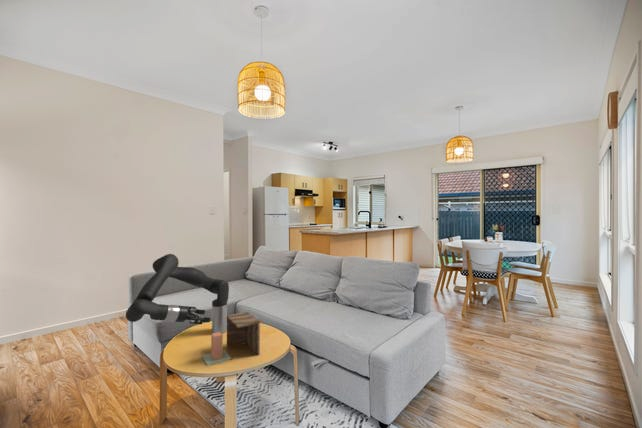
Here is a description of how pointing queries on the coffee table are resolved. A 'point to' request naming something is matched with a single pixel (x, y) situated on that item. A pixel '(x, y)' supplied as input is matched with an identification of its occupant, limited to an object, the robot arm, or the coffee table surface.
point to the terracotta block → (216, 345)
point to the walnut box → (243, 331)
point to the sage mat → (209, 359)
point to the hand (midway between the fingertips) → (207, 316)
